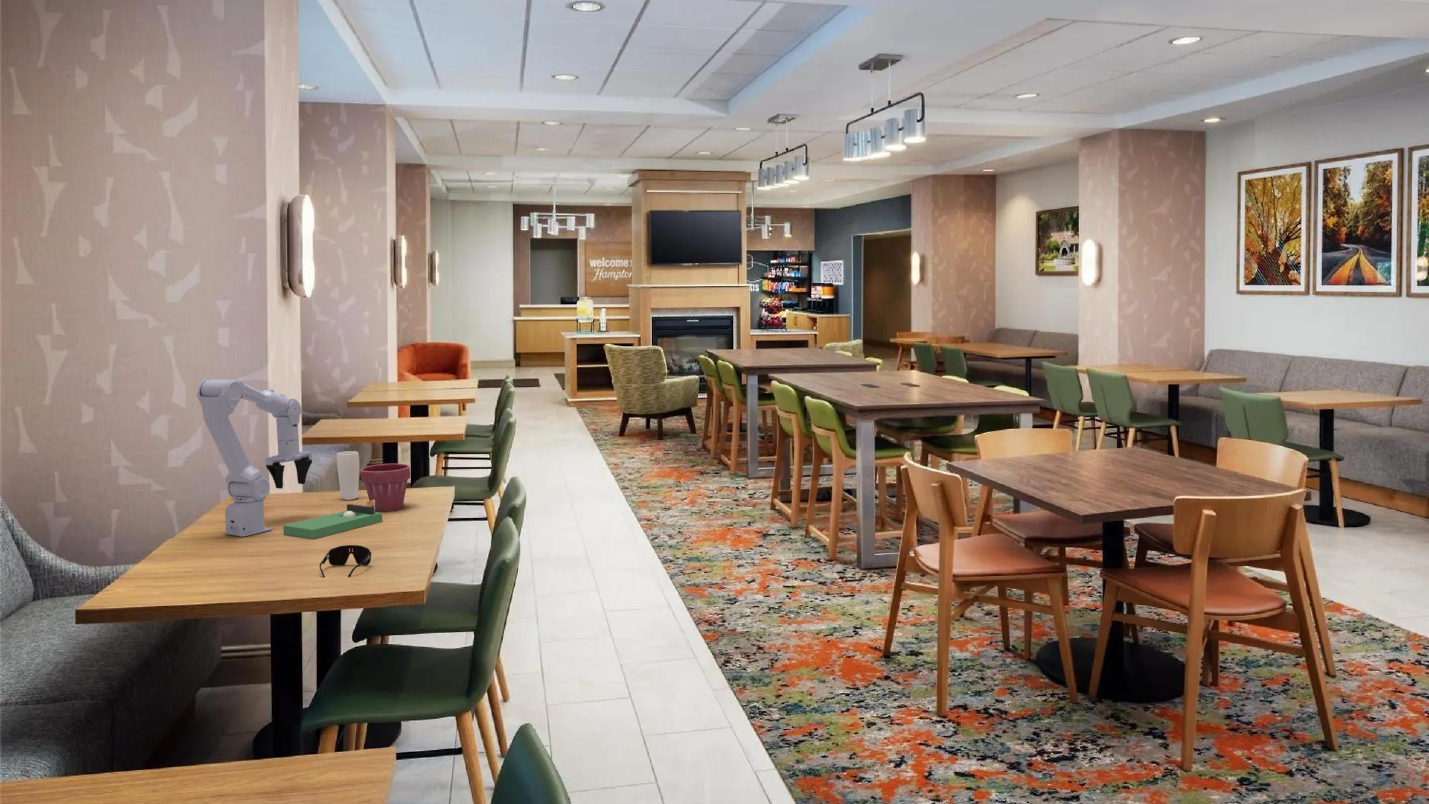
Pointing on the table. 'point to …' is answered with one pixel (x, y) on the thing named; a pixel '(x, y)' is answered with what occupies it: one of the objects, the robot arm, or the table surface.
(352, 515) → the ball
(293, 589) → the table surface
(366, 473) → the plant pot
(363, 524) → the green board
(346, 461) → the drinking glass
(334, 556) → the sunglasses
